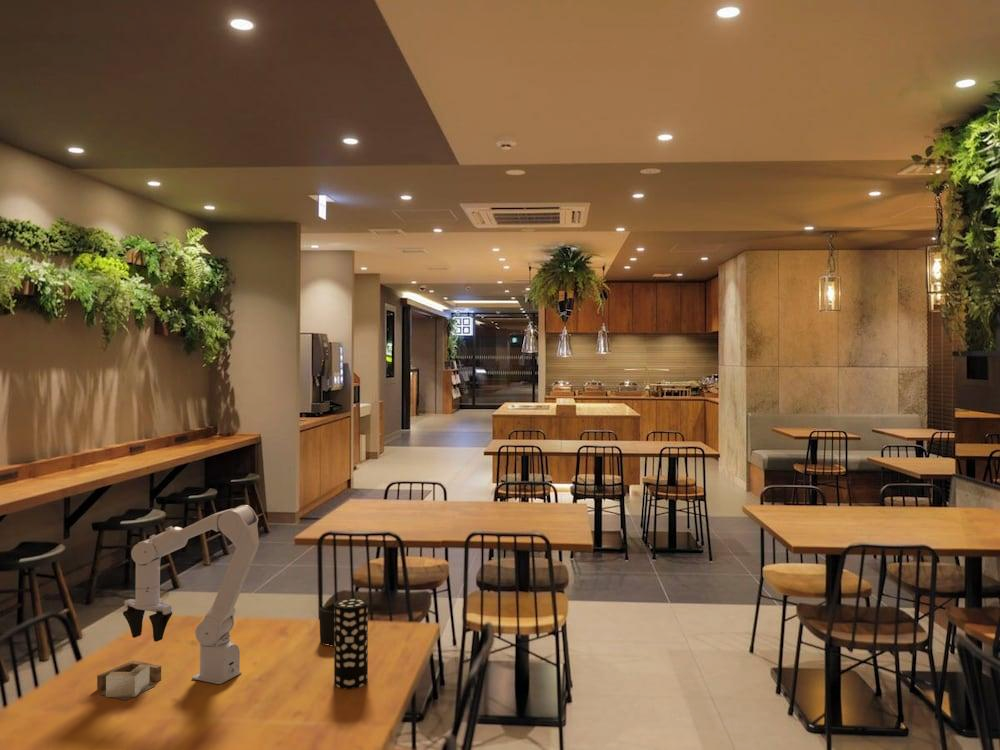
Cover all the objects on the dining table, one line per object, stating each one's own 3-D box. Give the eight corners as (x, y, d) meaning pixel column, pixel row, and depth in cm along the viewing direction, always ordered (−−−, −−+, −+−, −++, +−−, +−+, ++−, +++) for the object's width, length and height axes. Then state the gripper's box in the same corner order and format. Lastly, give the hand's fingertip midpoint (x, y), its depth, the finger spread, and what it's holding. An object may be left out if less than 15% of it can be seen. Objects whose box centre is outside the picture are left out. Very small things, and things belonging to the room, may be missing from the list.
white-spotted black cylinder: (353, 672, 186) (353, 596, 187) (374, 681, 181) (374, 602, 181) (327, 683, 180) (327, 603, 180) (348, 692, 175) (348, 610, 175)
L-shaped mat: (154, 686, 178) (154, 685, 178) (125, 700, 170) (125, 699, 170) (130, 681, 181) (130, 680, 181) (100, 694, 173) (100, 693, 173)
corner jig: (161, 679, 182) (161, 665, 182) (125, 696, 172) (125, 681, 172) (133, 673, 186) (133, 660, 186) (97, 689, 176) (97, 675, 176)
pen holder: (352, 645, 206) (352, 610, 206) (318, 648, 204) (318, 613, 204) (351, 634, 215) (351, 601, 216) (319, 637, 213) (319, 603, 213)
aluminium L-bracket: (134, 696, 172) (134, 676, 172) (105, 696, 172) (106, 676, 172) (149, 684, 179) (149, 664, 179) (121, 684, 179) (121, 664, 179)
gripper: (180, 584, 187) (180, 637, 186) (140, 579, 192) (140, 629, 192) (158, 592, 180) (158, 646, 180) (117, 586, 186) (117, 638, 185)
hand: (147, 638), depth 185 cm, fingers open, 7 cm apart
